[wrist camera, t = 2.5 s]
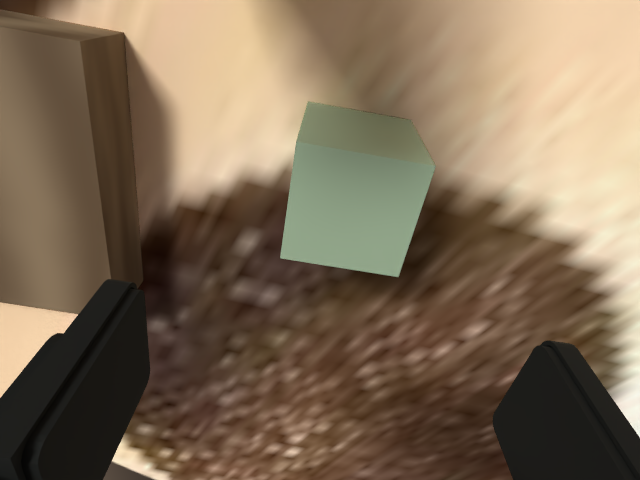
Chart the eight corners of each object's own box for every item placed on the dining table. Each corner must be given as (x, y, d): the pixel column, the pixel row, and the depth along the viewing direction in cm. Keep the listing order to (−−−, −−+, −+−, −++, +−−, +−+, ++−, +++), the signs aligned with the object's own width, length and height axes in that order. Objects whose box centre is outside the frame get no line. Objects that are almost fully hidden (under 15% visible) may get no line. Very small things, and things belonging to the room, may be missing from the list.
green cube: (410, 119, 19) (435, 166, 14) (384, 210, 22) (398, 277, 17) (307, 101, 19) (296, 141, 14) (294, 195, 22) (280, 258, 17)
